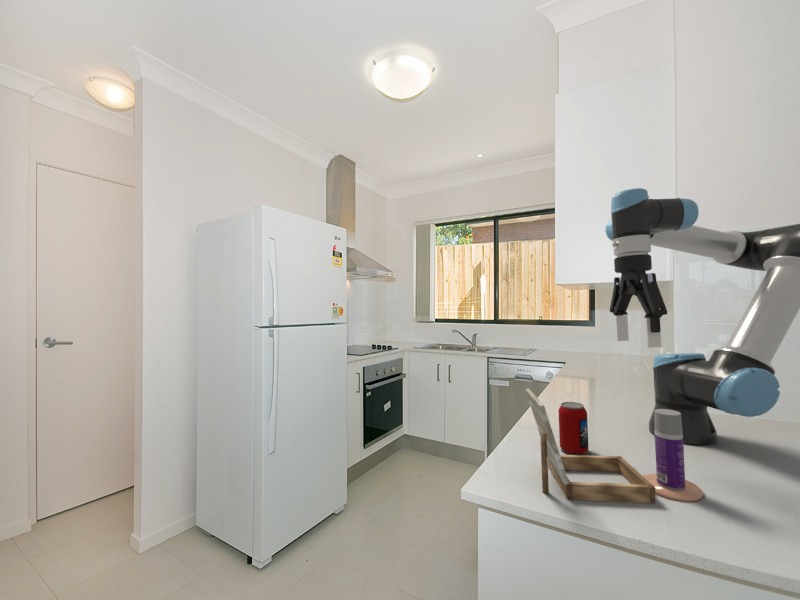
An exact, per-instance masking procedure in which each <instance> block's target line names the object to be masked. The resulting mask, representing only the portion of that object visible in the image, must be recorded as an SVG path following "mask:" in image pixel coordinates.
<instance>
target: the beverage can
mask: <svg viewBox="0 0 800 600" xmlns="http://www.w3.org/2000/svg"><path fill="white" fill-rule="evenodd" d="M588 422H589V421H588V411H587V410H586V408H585V406H584V404H582V403H579V402H574V401H564V402H561V404H560V406H559V408H558V431H559V432H558V433H559V437H558V438H559V447H560V449H561V450H562V451H564V452H566V453H567V454H568V455H584V454H586V453H588V452H589V425H588Z"/></svg>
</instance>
